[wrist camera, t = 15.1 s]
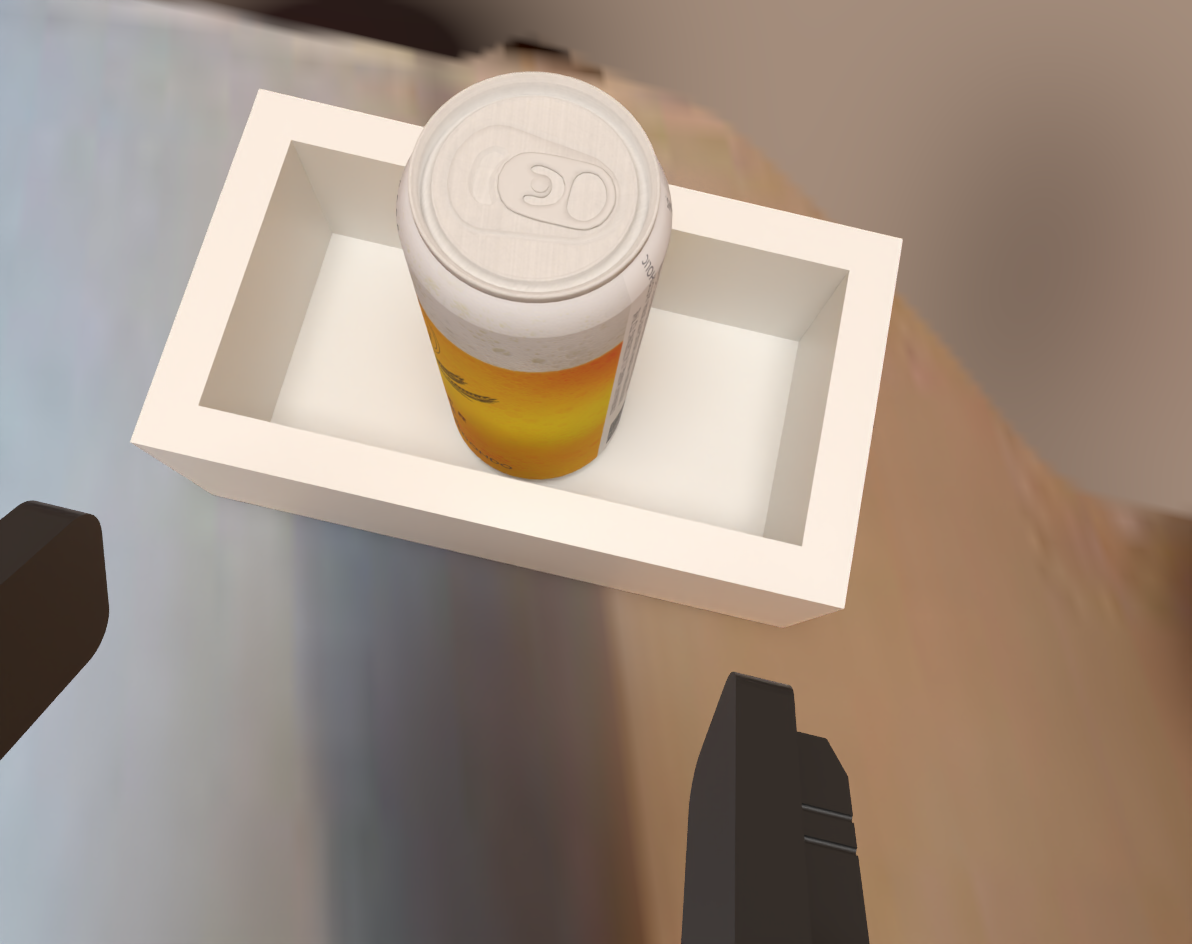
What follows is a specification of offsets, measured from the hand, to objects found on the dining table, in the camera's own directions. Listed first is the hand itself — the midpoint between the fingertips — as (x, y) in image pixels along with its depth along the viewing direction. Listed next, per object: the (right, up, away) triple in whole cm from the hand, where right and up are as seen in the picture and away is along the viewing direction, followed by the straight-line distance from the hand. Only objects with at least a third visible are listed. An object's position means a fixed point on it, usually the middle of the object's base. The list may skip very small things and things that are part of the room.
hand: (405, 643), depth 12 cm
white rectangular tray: (0, +5, +23) cm, 24 cm away
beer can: (0, +5, +23) cm, 23 cm away
